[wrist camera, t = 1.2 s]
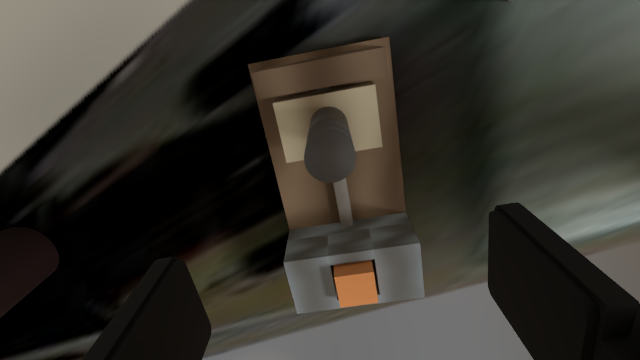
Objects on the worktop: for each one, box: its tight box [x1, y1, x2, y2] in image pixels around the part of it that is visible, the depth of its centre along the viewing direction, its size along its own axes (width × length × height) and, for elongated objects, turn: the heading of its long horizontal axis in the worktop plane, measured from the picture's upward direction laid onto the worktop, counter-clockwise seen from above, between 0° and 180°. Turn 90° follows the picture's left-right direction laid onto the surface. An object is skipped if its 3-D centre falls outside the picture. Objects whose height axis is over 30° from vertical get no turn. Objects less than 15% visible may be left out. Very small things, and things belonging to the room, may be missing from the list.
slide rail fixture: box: [248, 37, 424, 314], centre depth 30 cm, size 12×22×7 cm, turn 10°
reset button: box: [334, 260, 378, 308], centre depth 30 cm, size 3×3×3 cm
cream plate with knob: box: [273, 81, 383, 183], centre depth 24 cm, size 8×5×10 cm, turn 100°
